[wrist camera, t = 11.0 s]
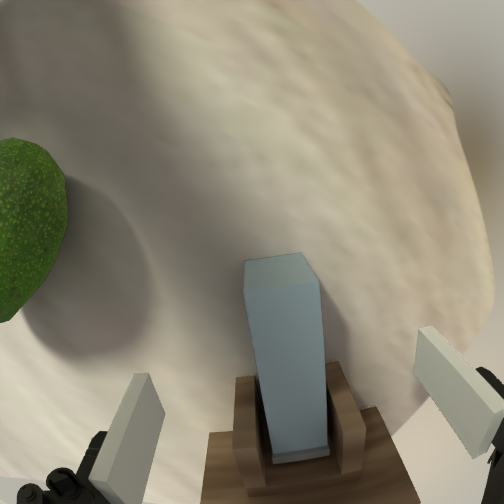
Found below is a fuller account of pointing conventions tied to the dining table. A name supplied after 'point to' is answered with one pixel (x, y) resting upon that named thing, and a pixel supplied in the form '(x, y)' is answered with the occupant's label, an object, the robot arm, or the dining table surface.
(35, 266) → the fruit
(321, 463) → the wooden card holder
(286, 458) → the block
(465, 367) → the robot arm
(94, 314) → the dining table surface
